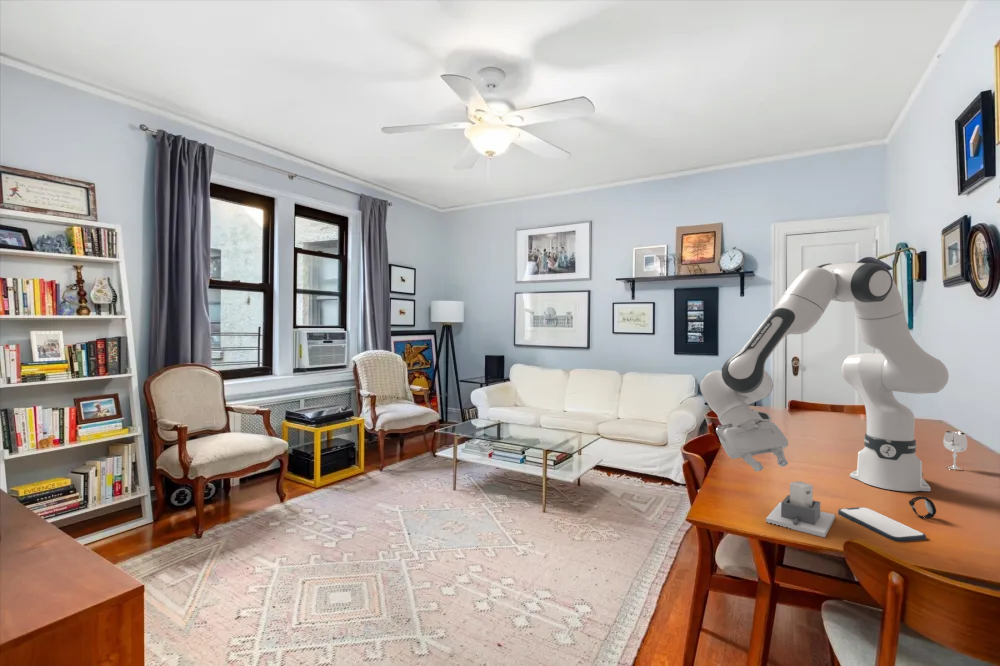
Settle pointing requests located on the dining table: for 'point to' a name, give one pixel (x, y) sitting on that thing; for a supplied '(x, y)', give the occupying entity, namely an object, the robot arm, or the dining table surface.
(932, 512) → the smartwatch
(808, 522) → the dock
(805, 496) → the block
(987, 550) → the dining table surface
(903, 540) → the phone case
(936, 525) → the dining table surface
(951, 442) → the wineglass
